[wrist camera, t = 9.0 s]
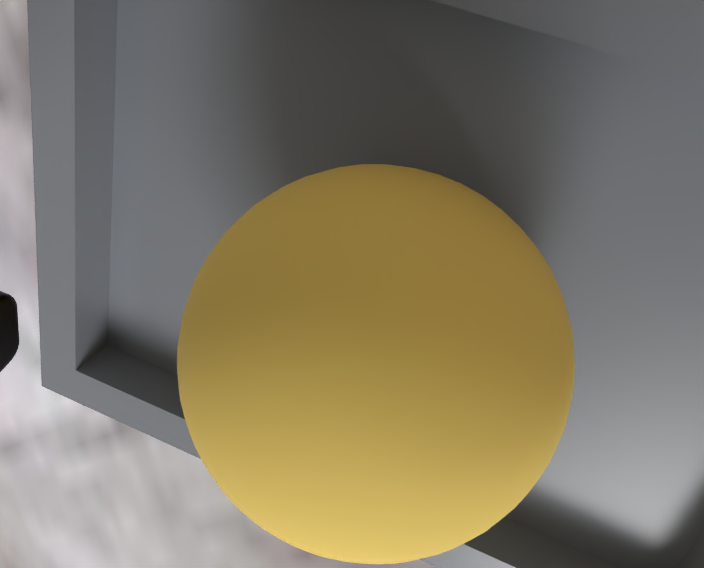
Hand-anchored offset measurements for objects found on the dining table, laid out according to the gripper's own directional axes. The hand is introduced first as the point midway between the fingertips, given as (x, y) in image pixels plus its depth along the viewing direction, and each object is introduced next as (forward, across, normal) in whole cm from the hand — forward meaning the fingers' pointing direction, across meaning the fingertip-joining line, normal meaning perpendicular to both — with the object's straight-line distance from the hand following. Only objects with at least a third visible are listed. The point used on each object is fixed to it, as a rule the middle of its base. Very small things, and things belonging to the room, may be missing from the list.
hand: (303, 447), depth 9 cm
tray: (+6, 0, 0) cm, 6 cm away
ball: (+2, 0, 0) cm, 2 cm away
